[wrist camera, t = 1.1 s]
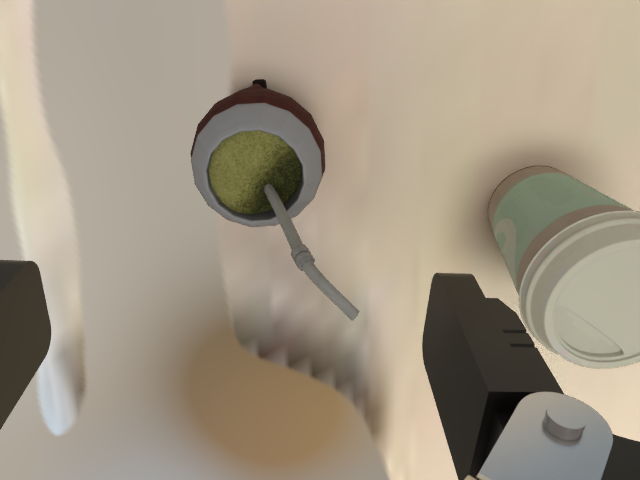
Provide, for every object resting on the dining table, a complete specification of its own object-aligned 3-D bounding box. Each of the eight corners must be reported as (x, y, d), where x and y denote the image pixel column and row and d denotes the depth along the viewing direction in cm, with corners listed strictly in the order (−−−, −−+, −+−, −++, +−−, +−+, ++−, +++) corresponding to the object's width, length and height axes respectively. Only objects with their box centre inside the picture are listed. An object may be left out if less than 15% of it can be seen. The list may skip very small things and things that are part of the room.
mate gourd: (198, 76, 33) (131, 161, 20) (333, 67, 33) (355, 147, 20) (216, 193, 37) (168, 334, 23) (337, 186, 37) (360, 322, 23)
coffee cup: (453, 172, 37) (516, 265, 26) (585, 125, 35) (708, 201, 25) (483, 278, 40) (549, 397, 30) (604, 238, 39) (718, 347, 29)
